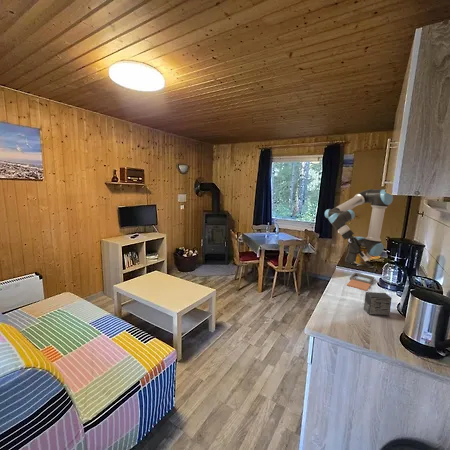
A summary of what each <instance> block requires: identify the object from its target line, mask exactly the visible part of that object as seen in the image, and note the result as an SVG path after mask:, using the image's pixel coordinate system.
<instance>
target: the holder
mask: <svg viewBox="0 0 450 450" xmlns="http://www.w3.org/2000/svg"><path fill="white" fill-rule="evenodd" d="M357 277H360V278H364V279H360V278H357ZM352 279H353V280H357V281H360V282H364V283H368V284H371V285H372V283H374V280H375V277H374V276H371V275H368V274H363V273H359V272H353V274H352V275H351V276H349V281H351V280H352ZM365 279H368V280H369V281H368V280H365Z"/></svg>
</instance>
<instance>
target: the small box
mask: <svg viewBox="0 0 450 450" xmlns="http://www.w3.org/2000/svg"><path fill="white" fill-rule="evenodd" d="M392 300H393V299H392V297H391V296H390V295H389V294H388V293H386V292H376V291H375V292H373V291H372V292H371V291H365V296H364V303H363V305H364V306H363V310H364V311H365V313H367V315H368V314H369V316H380V317H390V314H391V306H392Z"/></svg>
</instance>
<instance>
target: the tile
mask: <svg viewBox="0 0 450 450" xmlns="http://www.w3.org/2000/svg"><path fill="white" fill-rule="evenodd" d="M346 286H347V287H350V288H353V289H356V290H361V291H365V292H368V290H369V289H370V288H371V286H372V283H371V284H368V283H364V282H360V281H357V280H353V279H352V280H349V281H348V283H346Z"/></svg>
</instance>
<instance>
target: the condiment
mask: <svg viewBox="0 0 450 450" xmlns="http://www.w3.org/2000/svg"><path fill="white" fill-rule="evenodd" d="M359 248H360V250H361V251H362V252H363V253H364V254H365V255H366V256H367V247H362V246H359ZM355 263H356V264H358V266H370V264H369V263H367V261H364V260H363V258H362V257H361V256H360V255H359V253H358V254H357V256H356V262H355Z"/></svg>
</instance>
